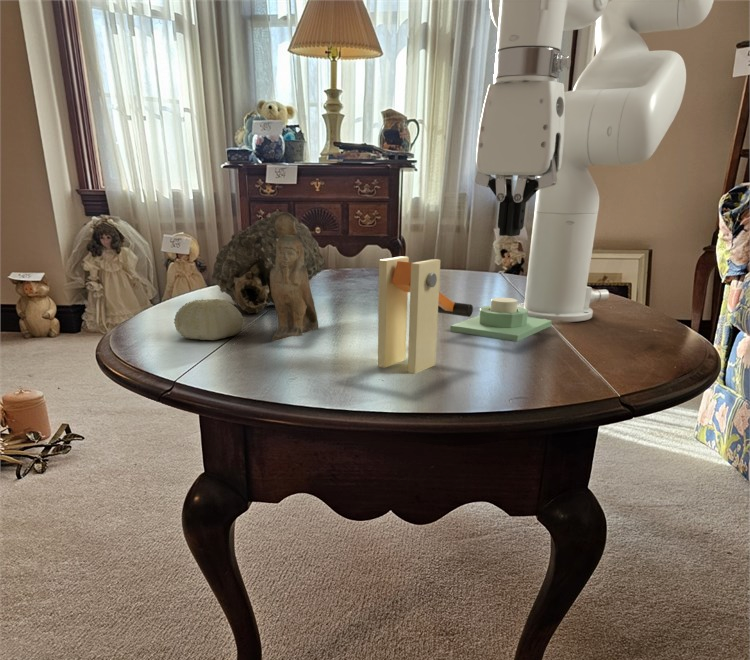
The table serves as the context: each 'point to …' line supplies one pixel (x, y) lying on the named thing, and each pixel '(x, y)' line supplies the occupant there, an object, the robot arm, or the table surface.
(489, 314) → the button block
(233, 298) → the rock
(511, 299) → the button
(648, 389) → the table surface
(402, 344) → the bracket
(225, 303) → the sea urchin shell
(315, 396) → the table surface
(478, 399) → the table surface
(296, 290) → the brown carved statuette
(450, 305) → the lever
